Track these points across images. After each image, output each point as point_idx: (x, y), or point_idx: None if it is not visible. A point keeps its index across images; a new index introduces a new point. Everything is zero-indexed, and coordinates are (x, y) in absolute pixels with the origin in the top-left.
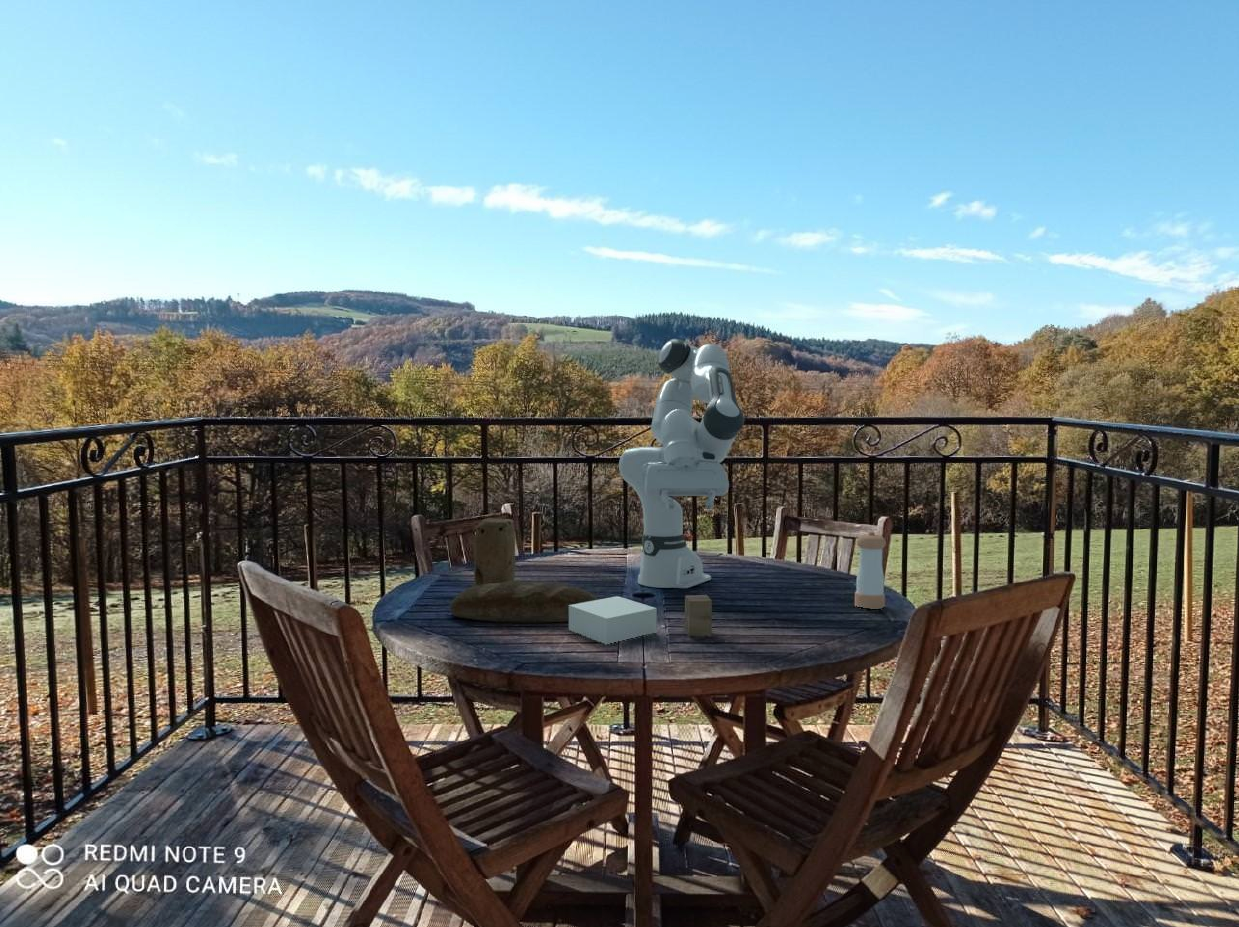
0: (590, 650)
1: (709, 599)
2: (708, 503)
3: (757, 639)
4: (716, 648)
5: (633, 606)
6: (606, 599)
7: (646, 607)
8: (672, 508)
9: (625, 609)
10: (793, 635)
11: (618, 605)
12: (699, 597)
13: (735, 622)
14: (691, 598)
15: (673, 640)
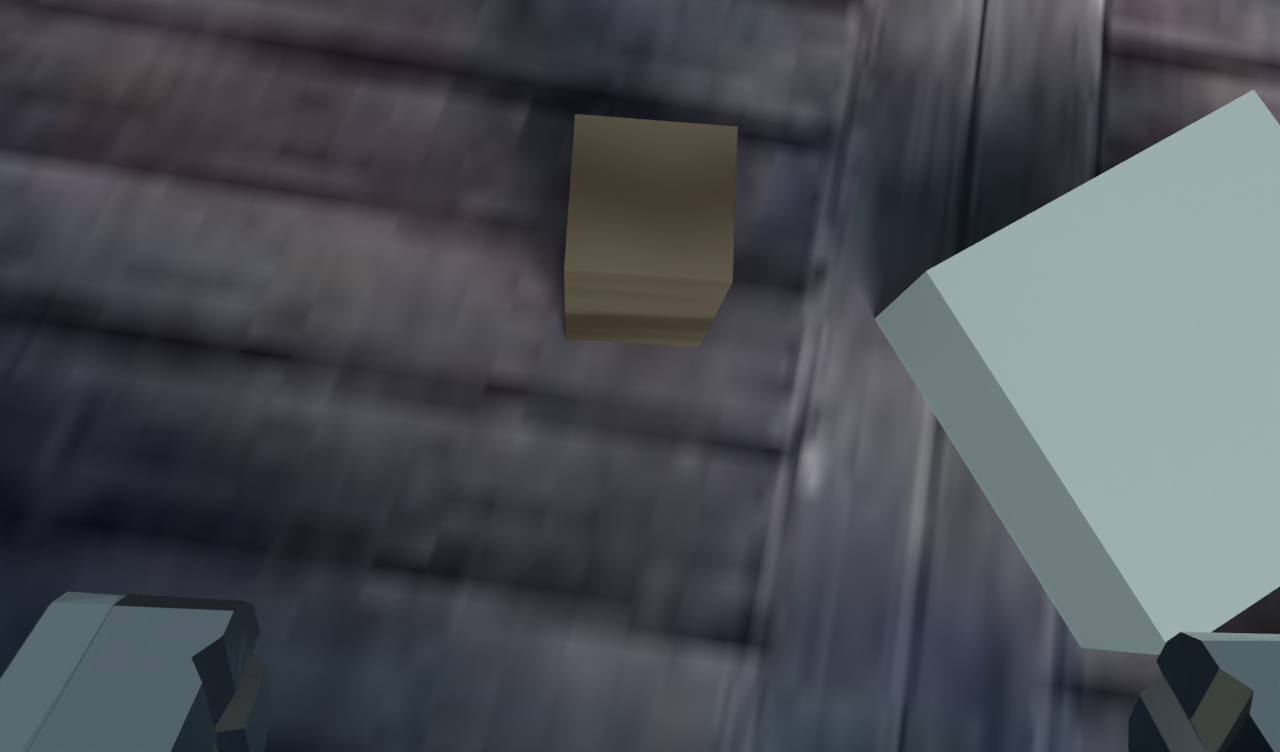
0: (1238, 85)
1: (582, 146)
2: (197, 605)
3: (332, 119)
4: (607, 12)
5: (1076, 337)
6: (1257, 561)
7: (991, 299)
8: (1148, 720)
9: (1133, 270)
10: (89, 156)
11: (1175, 380)
12: (639, 212)
13: (328, 477)
14: (705, 191)
15: (801, 175)
